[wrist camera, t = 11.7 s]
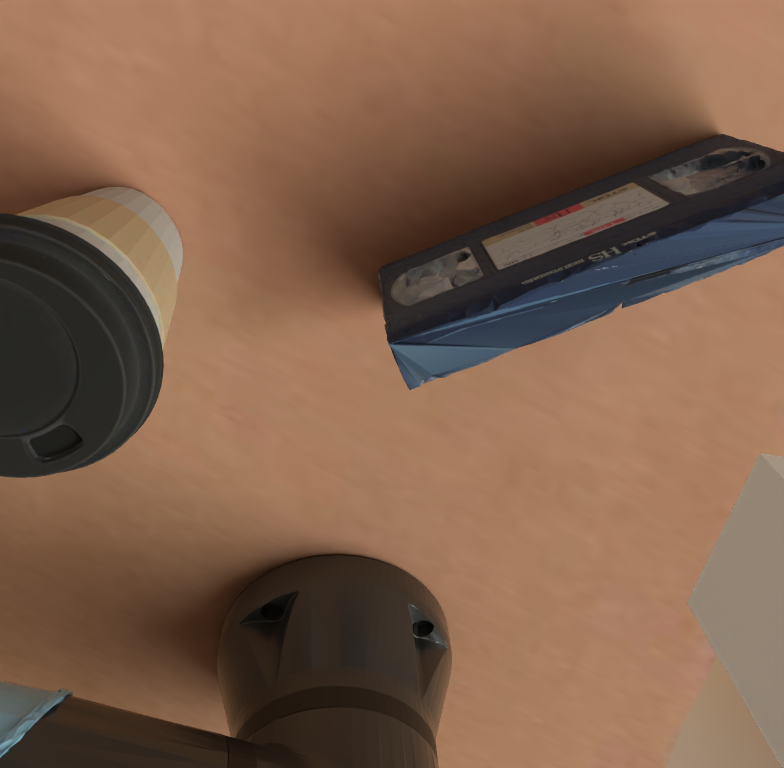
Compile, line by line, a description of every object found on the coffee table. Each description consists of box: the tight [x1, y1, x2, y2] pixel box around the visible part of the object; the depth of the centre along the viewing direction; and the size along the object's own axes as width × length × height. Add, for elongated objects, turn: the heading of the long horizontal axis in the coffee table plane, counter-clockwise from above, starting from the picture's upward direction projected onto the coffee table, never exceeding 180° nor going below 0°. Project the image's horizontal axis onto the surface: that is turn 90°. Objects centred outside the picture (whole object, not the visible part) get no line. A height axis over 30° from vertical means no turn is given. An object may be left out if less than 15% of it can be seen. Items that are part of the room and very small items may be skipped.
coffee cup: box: [0, 187, 183, 478], centre depth 31 cm, size 9×9×15 cm
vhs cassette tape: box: [378, 134, 784, 390], centre depth 34 cm, size 18×3×10 cm, turn 110°
